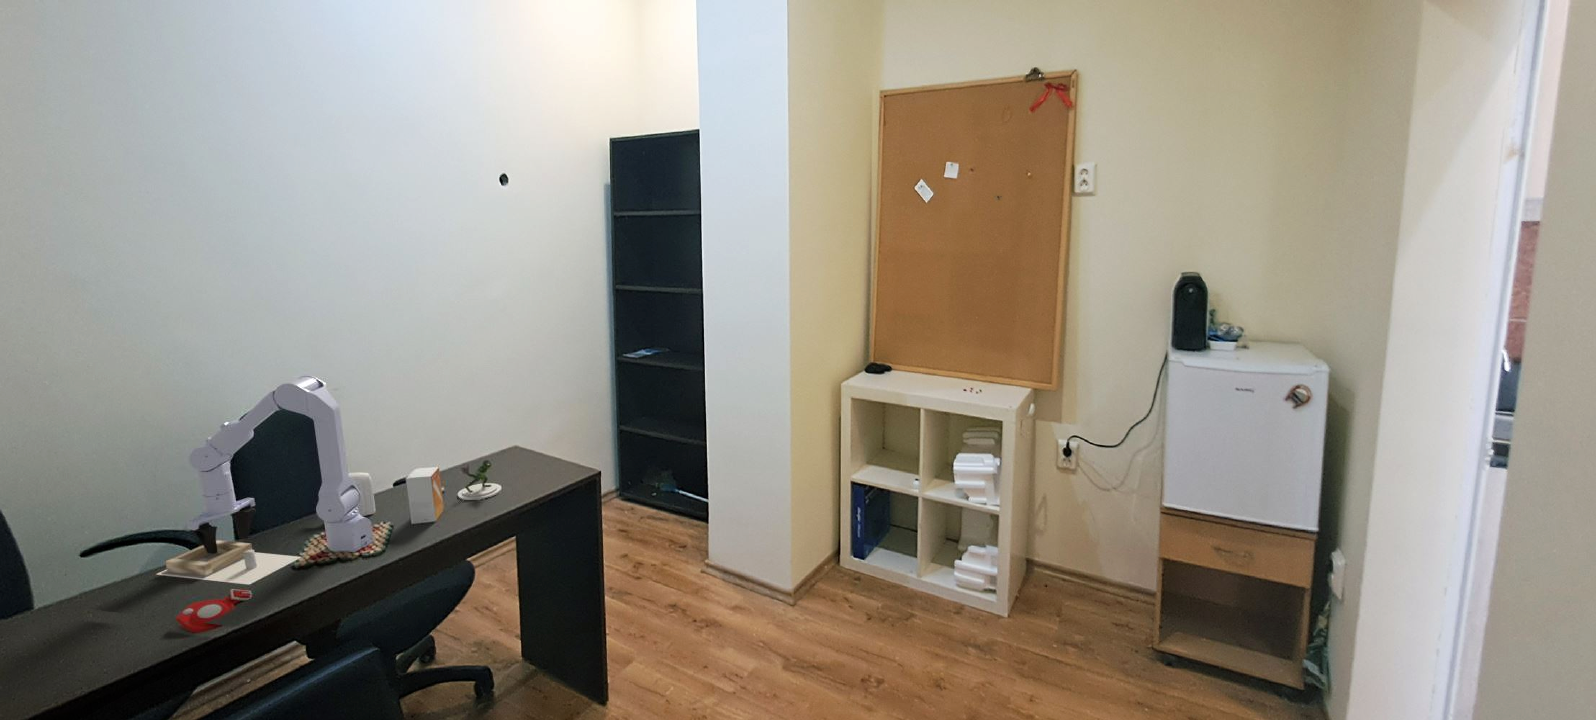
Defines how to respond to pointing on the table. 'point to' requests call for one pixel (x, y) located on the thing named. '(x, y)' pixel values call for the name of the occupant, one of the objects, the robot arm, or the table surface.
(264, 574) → the board
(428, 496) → the small box
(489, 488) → the monster figurine
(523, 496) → the table surface
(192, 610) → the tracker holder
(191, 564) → the beige rectangular frame
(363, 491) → the photo printer
